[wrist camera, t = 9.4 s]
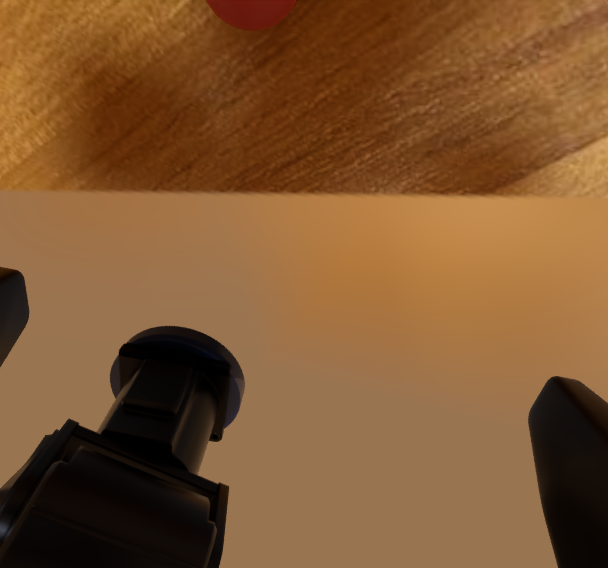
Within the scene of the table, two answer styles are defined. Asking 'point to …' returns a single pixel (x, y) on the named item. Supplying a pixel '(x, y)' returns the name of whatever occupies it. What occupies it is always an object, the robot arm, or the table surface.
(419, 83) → the table surface
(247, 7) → the switch lever
